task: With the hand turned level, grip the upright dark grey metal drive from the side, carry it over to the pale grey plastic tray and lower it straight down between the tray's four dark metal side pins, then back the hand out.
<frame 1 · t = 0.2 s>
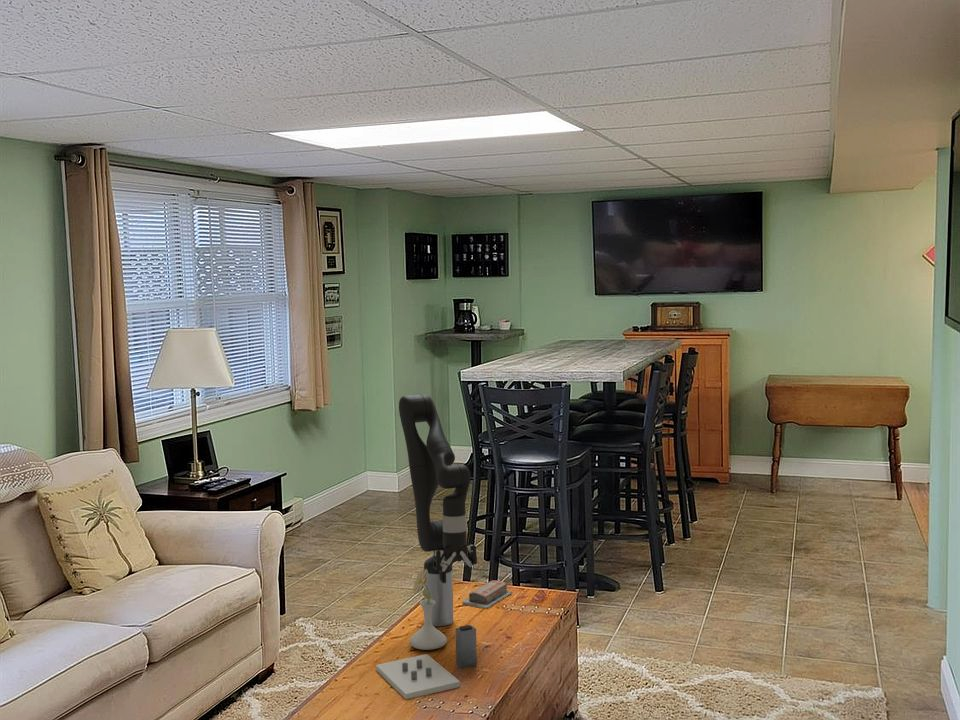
hand: (455, 580, 294), 18 cm above the table, tool pointing down, fingers open, 8 cm apart
packaged product: (487, 600, 330), on the table
drive: (466, 665, 272), on the table
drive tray: (416, 678, 264), on the table
flower in vase: (428, 648, 287), on the table
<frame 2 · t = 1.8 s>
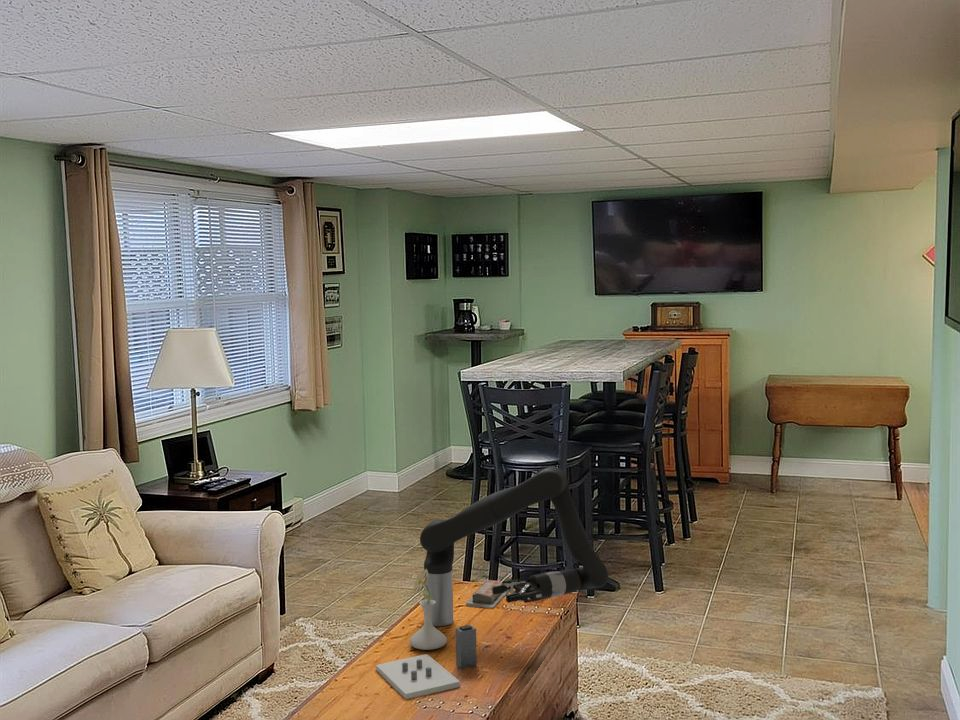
hand: (499, 594, 276), 19 cm above the table, tool horizontal, fingers open, 8 cm apart
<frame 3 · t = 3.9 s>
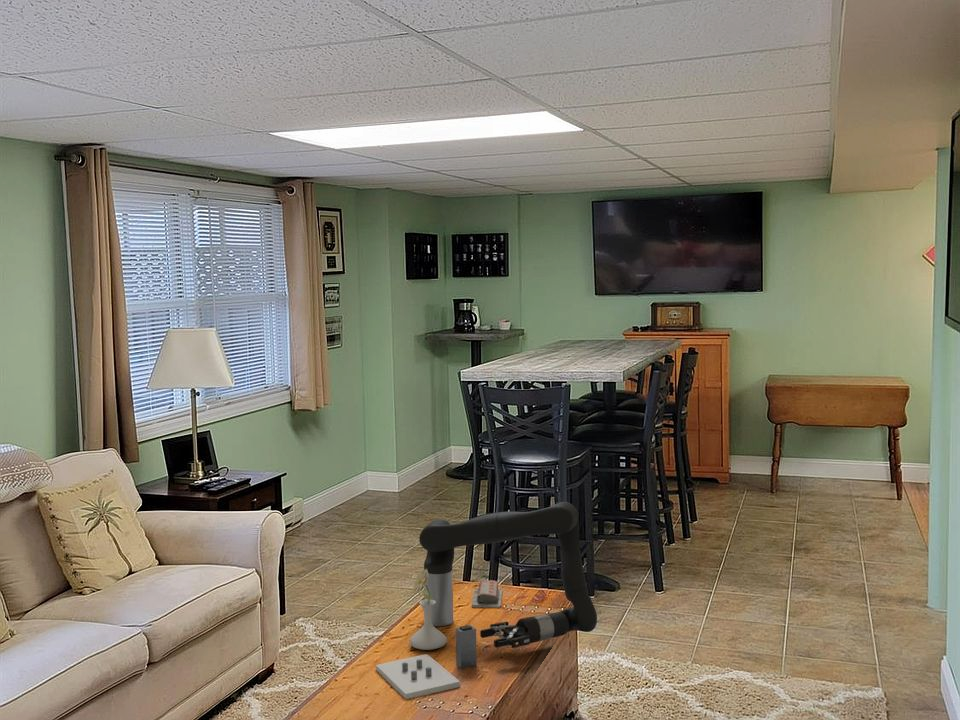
hand: (487, 639, 275), 6 cm above the table, tool horizontal, fingers open, 8 cm apart
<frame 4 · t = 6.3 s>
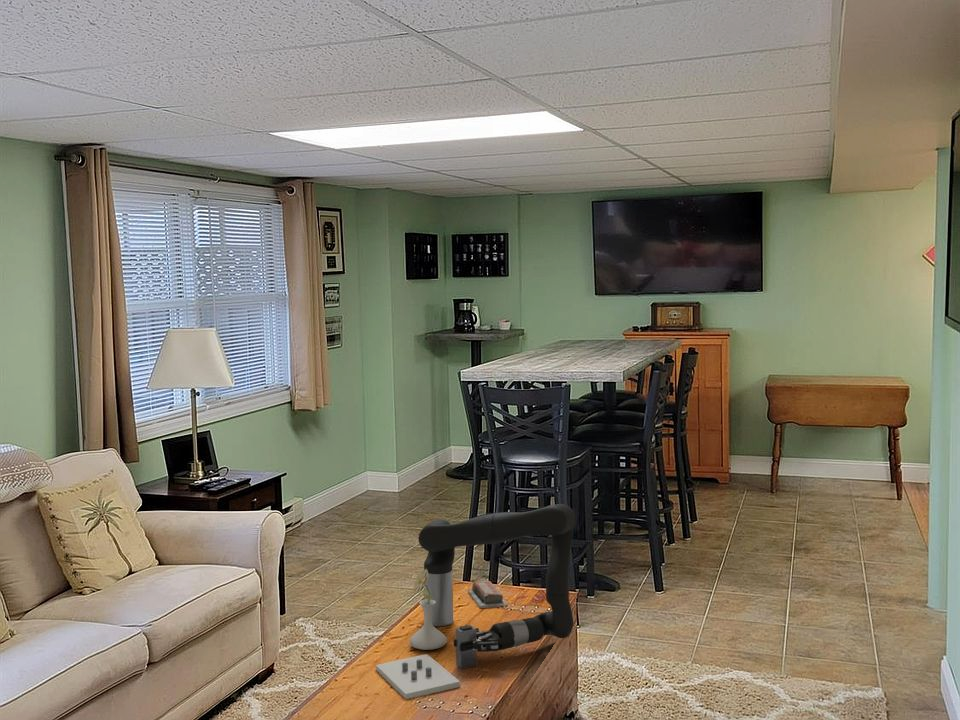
hand: (457, 645, 271), 7 cm above the table, tool horizontal, fingers closed on drive, 3 cm apart
drive: (466, 665, 272), on the table, touching gripper
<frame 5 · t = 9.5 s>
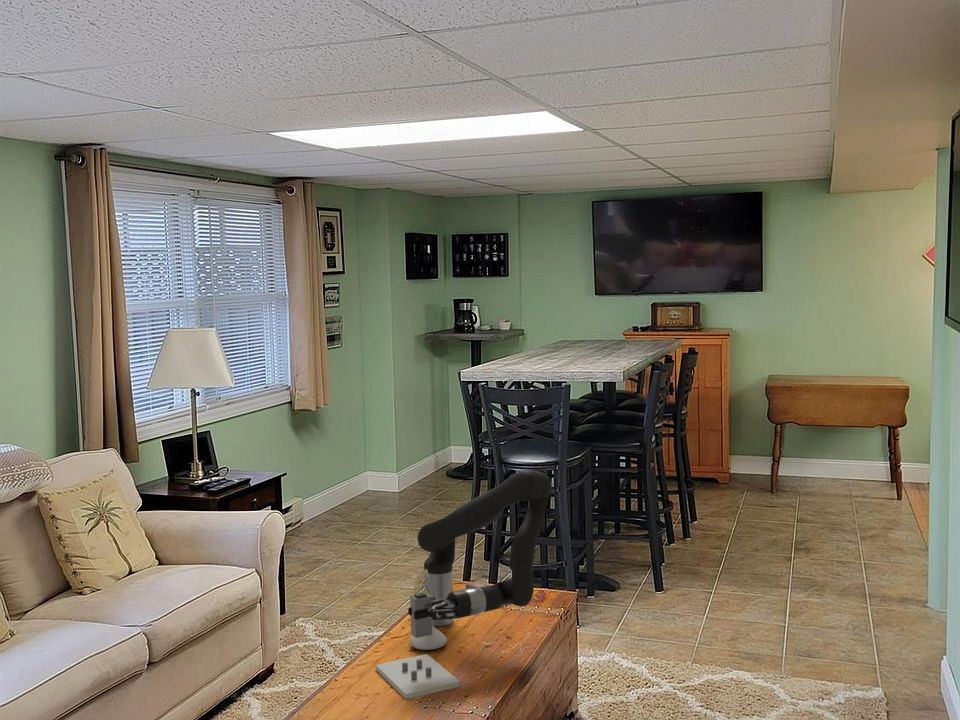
hand: (411, 613, 262), 19 cm above the table, tool horizontal, fingers closed on drive, 3 cm apart
drive: (421, 634, 264), point 12 cm above the table, touching gripper
when the fingers open (9 cm above the table, at t = 12.8 s): drive stays where it is, resting on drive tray.
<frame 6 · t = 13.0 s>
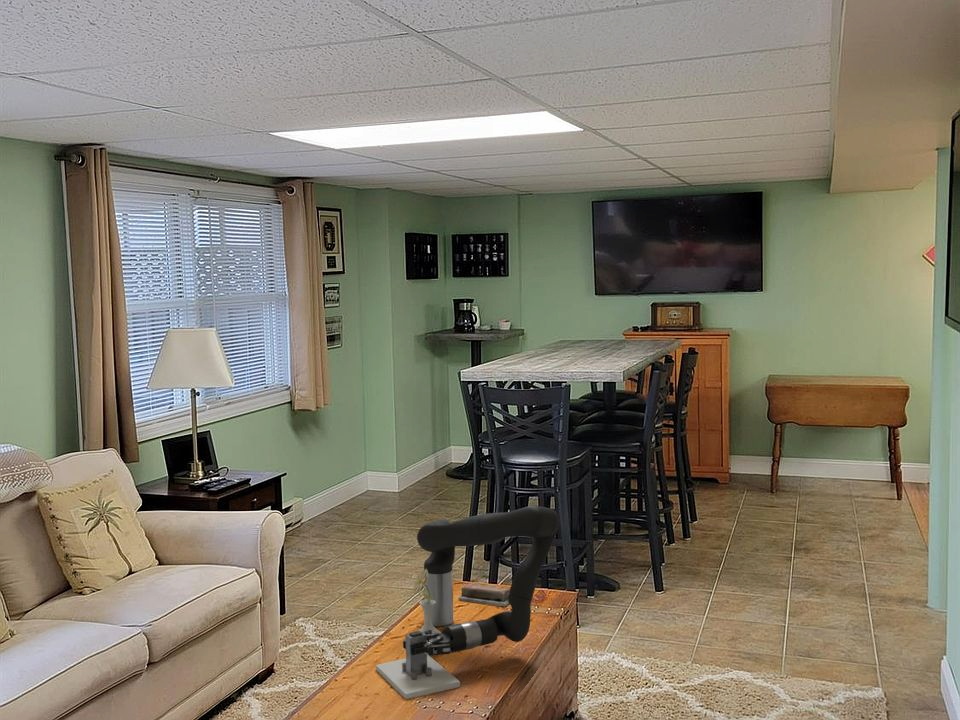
hand: (407, 648, 262), 9 cm above the table, tool horizontal, fingers open, 4 cm apart
drive: (416, 672, 264), point 1 cm above the table, touching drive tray
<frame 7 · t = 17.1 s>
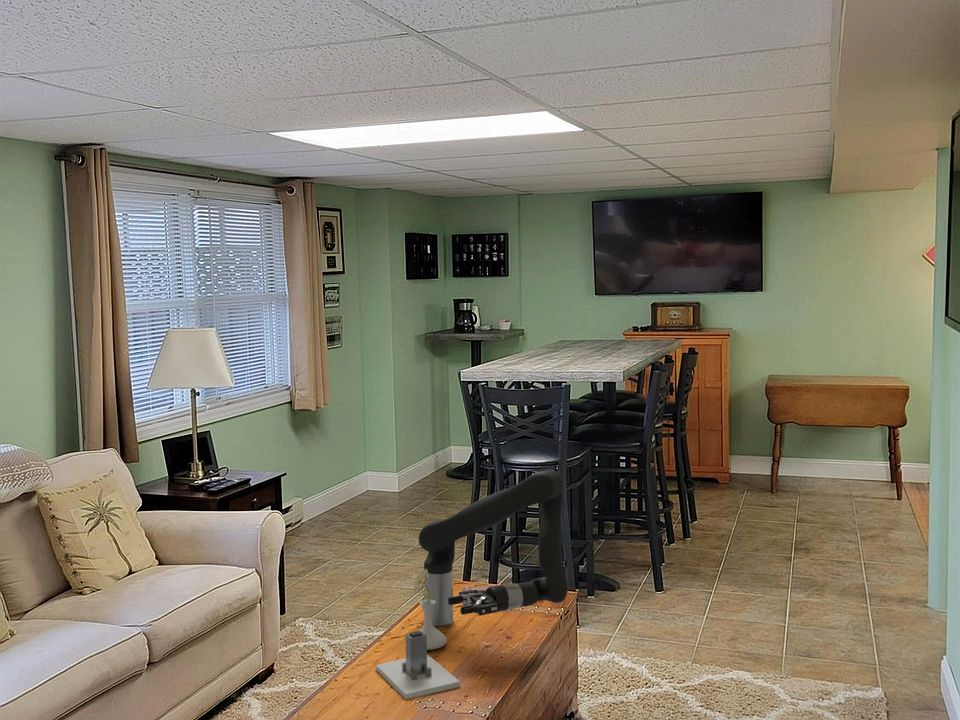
hand: (454, 606, 272), 17 cm above the table, tool horizontal, fingers open, 8 cm apart
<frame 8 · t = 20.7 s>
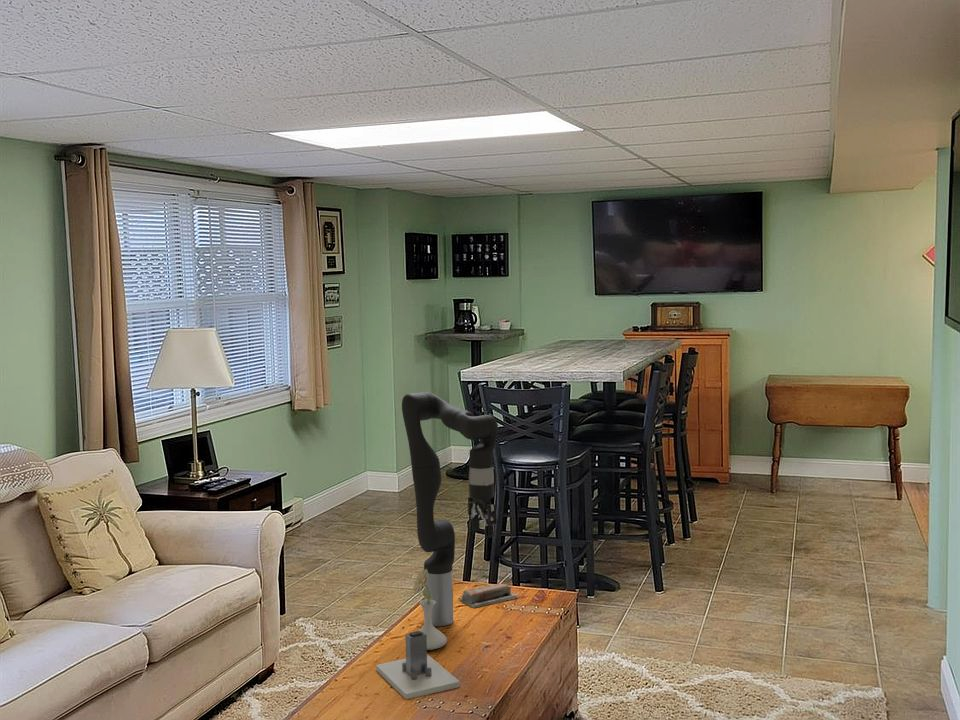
hand: (482, 534, 286), 34 cm above the table, tool pointing down, fingers open, 8 cm apart
at the end: drive 0.0 cm off-centre on the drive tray, point 1.5 cm above the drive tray's base; drive tilted 0°; the gripper is holding nothing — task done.
